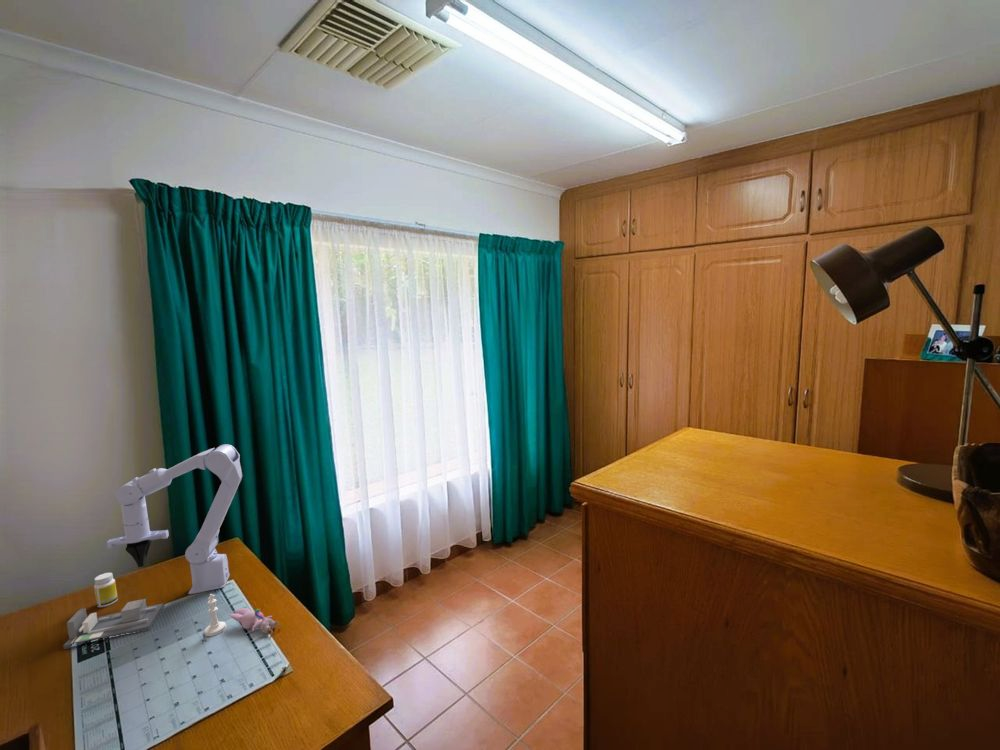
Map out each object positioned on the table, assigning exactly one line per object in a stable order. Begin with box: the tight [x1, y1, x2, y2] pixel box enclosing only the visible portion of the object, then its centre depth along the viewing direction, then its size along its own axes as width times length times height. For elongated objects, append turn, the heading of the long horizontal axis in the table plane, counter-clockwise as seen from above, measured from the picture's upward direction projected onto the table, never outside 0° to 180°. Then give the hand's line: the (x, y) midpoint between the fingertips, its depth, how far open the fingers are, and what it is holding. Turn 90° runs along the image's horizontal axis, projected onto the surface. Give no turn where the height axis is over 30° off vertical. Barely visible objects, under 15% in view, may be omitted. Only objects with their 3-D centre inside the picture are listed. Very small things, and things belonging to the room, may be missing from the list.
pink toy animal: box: [229, 607, 281, 636], centre depth 118 cm, size 6×6×15 cm
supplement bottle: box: [93, 572, 119, 608], centre depth 133 cm, size 5×5×8 cm
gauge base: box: [62, 602, 165, 650], centre depth 121 cm, size 18×11×6 cm, turn 110°
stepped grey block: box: [109, 598, 148, 624], centre depth 122 cm, size 8×4×4 cm, turn 110°
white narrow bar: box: [79, 612, 98, 633], centre depth 118 cm, size 1×7×3 cm, turn 20°
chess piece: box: [204, 593, 227, 637], centre depth 118 cm, size 5×5×10 cm
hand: (142, 565), depth 134 cm, fingers closed
